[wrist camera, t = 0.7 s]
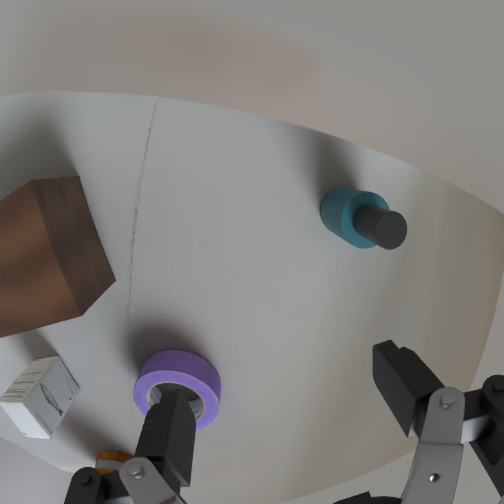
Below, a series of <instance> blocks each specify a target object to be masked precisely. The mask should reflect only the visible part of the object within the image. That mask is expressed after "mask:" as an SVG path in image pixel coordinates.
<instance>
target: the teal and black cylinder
mask: <svg viewBox="0 0 504 504" xmlns="http://www.w3.org/2000/svg"><path fill="white" fill-rule="evenodd" d="M320 214H321V219H322V221H323V224H324V225H325V226H326V228H327V229H328V230H330V231H331V232H333V233H334V234H336V235H337V236H339V237H341V238H342V239H344V240H345V241H347V242H348V243H350V244H351V245H353V246H355V247H357V248H362V249H366V248H371V247H374V246H376V245H378V246H380V247H382V248H384V249H387V250H392V249H395V248H397V247H399V246H400V245H401V244H402V243H403V241H404V239H405V237H406V234H407V224H406V221H405V219H404V217H403V216H402V215H401V214H399V213H397V212H394V211H391V210H390V209H389V207H388V205H387V203H386V202H385V200H384V199H383V198H382V197H381V196H379V195H378V194H375V193H372V192H367V191H362V190H356V189H350V188H336V189H334V190H332V191H330V192H329V193H328V194H327V195H326V196H325V198H324V199H323V201H322V204H321V209H320Z"/></svg>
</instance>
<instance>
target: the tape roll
mask: <svg viewBox="0 0 504 504" xmlns="http://www.w3.org/2000/svg"><path fill="white" fill-rule="evenodd" d="M161 383H176V384H180V385H183V386H186V387H188V388H190V389H192V390H193V391H195V392H196V393H197V394H198V395H199V396H200V398H198V399H196V400H192V401H188V403H189V405H190V407H191V409H192V411H193V413H194V415H195V419H196V430H200V429H203V428H205V427H207V426H209V425H210V424H212V423H213V422H214V421H215V420H216V418H217V416H218V414H219V410H220V394H221V381H220V378H219V375H218V373H217V372H216V370H215V369H214V367H213V366H212V365H211V364H210V363H208V362H207V361H206V360H205V359H203V358H201V357H200V356H198V355H196V354H193V353H190V352H187V351H183V350H165V351H160V352H157V353H155V354H153V355H152V356H150V357H149V358H148V359H147V360H146V362H145V363H144V365H143V367H142V370H141V372H140V374H139V377H138V379H137V381H136V383H135V386H134V390H133V397H134V401H135V403H136V405H137V407H138V409H139V410H140V412H141V413H142V414H143V415H144V416H145V417H146V414H147V412H148V410H149V409H150V408H151V407H152V406H153V404H155V403H159V402H160V399H161V395H162V392H161V391H160V389H159V388H158V386H157V385H158V384H161Z"/></svg>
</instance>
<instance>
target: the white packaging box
mask: <svg viewBox="0 0 504 504" xmlns="http://www.w3.org/2000/svg"><path fill="white" fill-rule="evenodd" d="M79 391H80V388H79V387H78V386H77V384H76V383H75V382H74V380H73V379H72V377H71V376H70V374H69V372H68V371H67V369H66V368H65V366H64V364H63V363H62V361H61V359H60V357H59V356H53V357H48V358H42V359H36V360H33V361H32V362H31V364H30V365H29V366H28V367H27V368H26V369H25V370H24V371H23V372H22V373H21V375H20V376H19V377H18V378H17V379H16V380H15V381H14V383H13V384H12V385H11V386H10V387H9V388H8V390H7V391H6V392H5V393H4V394H3V396H2V397H1V398H0V405H1V407H2V408H3V409H4V411H5V412H6V413H7V415H8V416H9V417H10V418H11V420H12V421H13V422H14V423H15V425H16V426H17V427H18V428H19V430H20V431H21V432H22V433H23V434H24V436H26V437H32V438H42V439H51V438H52V437H53V435H54V433H55V431H56V430H57V428H58V426H59V424H60V423H61V421H62V419H63V418H64V416H65V414H66V412H67V411H68V409H69V407H70V406H71V404H72V402H73V401H74V399H75V398H76V396H77V394H78V393H79Z"/></svg>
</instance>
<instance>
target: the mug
mask: <svg viewBox="0 0 504 504" xmlns="http://www.w3.org/2000/svg"><path fill="white" fill-rule="evenodd" d="M131 458H134V457H132V456H129V455H127V454H125V453H122V452H120V451H100V452H99V455H98V458H97V461H96V466H95V469H96V470H97V471H98V472H99V473H100V474H105V473H110V472H115V471H119V470H120V467H121V466H122V464H123V463H124V462H126V461H127V460H129V459H131Z"/></svg>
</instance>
